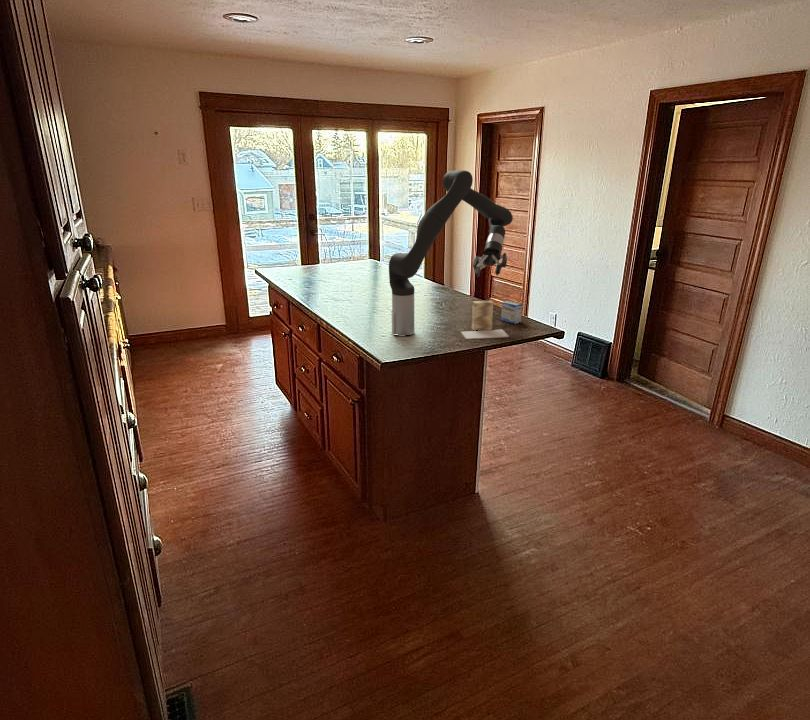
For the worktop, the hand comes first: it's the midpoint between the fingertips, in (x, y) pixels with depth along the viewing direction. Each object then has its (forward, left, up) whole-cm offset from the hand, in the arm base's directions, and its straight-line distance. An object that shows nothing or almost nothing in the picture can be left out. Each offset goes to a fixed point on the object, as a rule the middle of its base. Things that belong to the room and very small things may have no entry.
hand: (486, 274), depth 218 cm
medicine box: (+14, +5, -23) cm, 27 cm away
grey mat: (-3, -12, -23) cm, 26 cm away
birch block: (-2, -4, -23) cm, 23 cm away
